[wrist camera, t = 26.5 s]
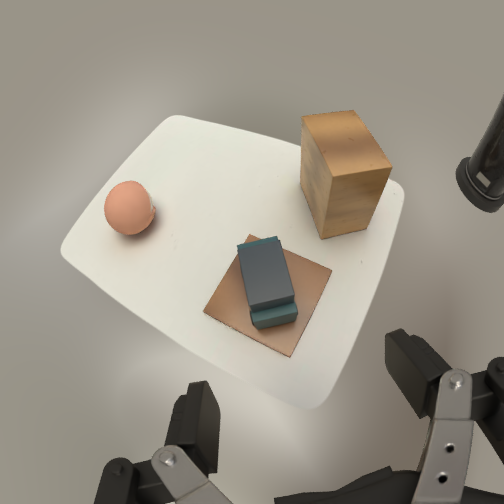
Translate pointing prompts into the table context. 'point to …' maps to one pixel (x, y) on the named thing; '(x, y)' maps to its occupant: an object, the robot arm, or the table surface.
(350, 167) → the wooden block
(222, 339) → the table surface
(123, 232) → the toy ball
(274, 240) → the toy van
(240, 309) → the mat
